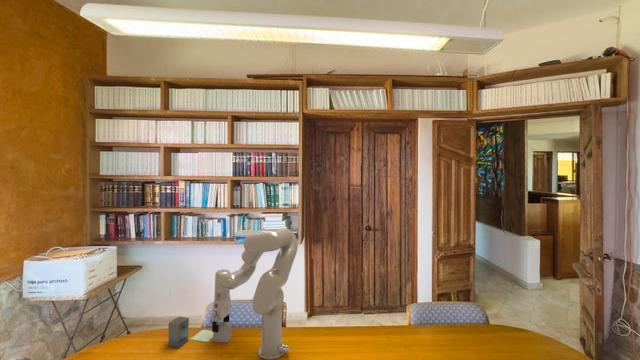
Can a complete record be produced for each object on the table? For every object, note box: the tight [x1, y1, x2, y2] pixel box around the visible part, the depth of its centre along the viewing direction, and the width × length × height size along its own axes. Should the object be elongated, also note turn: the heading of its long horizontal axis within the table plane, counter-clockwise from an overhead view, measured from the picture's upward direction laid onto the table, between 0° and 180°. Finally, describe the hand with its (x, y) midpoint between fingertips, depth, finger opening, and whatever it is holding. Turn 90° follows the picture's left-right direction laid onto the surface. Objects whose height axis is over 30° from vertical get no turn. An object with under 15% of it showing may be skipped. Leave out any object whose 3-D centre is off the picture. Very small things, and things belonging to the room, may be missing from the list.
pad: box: [189, 329, 213, 343], centre depth 153 cm, size 10×10×1 cm
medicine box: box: [212, 321, 232, 344], centre depth 149 cm, size 8×4×9 cm, turn 84°
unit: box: [167, 316, 190, 350], centre depth 145 cm, size 6×7×12 cm
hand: (220, 327), depth 150 cm, fingers open, 9 cm apart
